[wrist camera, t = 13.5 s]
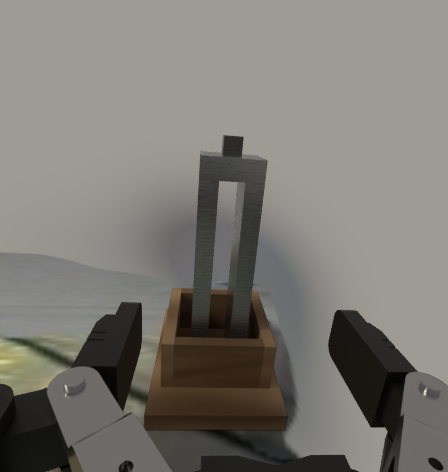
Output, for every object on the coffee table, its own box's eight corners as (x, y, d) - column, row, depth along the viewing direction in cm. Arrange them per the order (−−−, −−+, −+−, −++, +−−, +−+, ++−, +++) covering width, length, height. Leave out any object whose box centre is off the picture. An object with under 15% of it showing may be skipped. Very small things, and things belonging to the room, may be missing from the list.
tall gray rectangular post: (242, 370, 23) (270, 139, 18) (188, 369, 23) (201, 133, 18) (237, 336, 27) (258, 138, 22) (191, 335, 27) (201, 133, 21)
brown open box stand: (285, 429, 20) (296, 371, 19) (144, 429, 19) (144, 368, 18) (255, 322, 31) (260, 280, 30) (166, 319, 31) (167, 276, 29)
